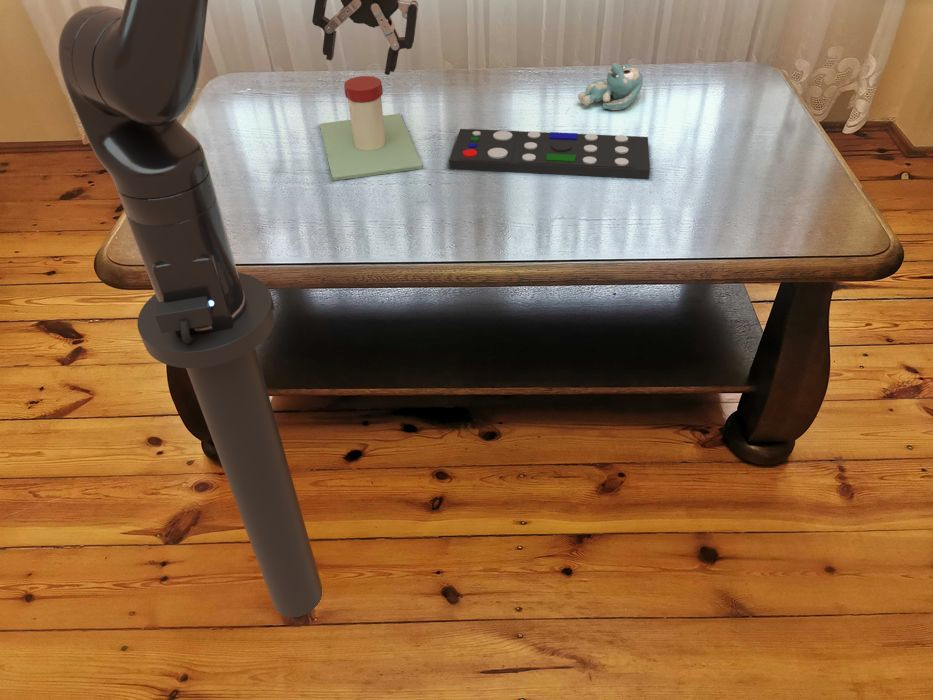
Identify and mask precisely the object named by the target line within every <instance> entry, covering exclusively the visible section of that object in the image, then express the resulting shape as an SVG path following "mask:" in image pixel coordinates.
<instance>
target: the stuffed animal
mask: <svg viewBox="0 0 933 700" xmlns="http://www.w3.org/2000/svg"><path fill="white" fill-rule="evenodd" d="M643 82H644V78H643V74H642V73H641V71H639V70H638V69H637V68H635V67H633V66H632V65H631V64H629V63H625V64H623V65H621V64H619V63H617V62H614V63H612V64H611V68H610V70H609V71H608V72H607V75H606V78H602V79H599V80H598V79H597V80H595V81H593V82H591V83H590V84H588V86H587V87H586V88H585V91H582V92H579V93H578V94H577V101H579V102H580V103H582V104H583V105H584V106H588V105H590V104H592V103H594V101H595V102H601V101H603V104H602V109H607V110H609V111H610V110H611V111H620V110H621V111H622V110H624V109H626V108H628V107H629V106H630V105H631V104H632V103H633V102H634V101H635V100H636V99H637V98H638V97H639V95H640V93H641V90H642V88H643ZM611 97H612V98H614V99H615V100H612V101H611Z"/></svg>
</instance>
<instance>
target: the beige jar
mask: <svg viewBox="0 0 933 700" xmlns="http://www.w3.org/2000/svg"><path fill="white" fill-rule="evenodd" d="M347 103H348V111H349V120H351V127H352V135H353V142H354V146H355V148H357V149H359V150H363V151H372V150H377V149H380V148H382V147H383V146H384V145H385V144H386V139H385V129H384V119H383V116H384V110H383V101H382V96H381V97H379V98H377V99H375V100H372V101H366V102H356V101H351V100H349V99H347Z"/></svg>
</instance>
